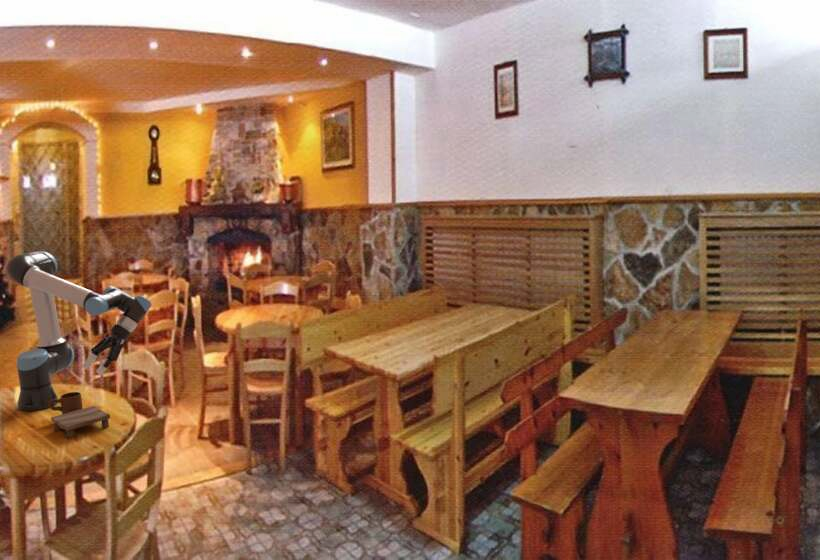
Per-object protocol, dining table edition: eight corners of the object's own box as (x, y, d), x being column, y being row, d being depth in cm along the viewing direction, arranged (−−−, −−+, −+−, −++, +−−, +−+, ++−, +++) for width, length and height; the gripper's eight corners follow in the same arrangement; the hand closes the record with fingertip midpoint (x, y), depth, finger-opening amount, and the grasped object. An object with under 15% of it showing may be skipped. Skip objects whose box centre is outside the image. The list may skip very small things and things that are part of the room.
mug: (51, 424, 257) (48, 401, 255) (49, 418, 263) (46, 396, 261) (84, 417, 264) (82, 395, 262) (81, 412, 270) (79, 390, 268)
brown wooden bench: (52, 429, 251) (51, 417, 251) (94, 417, 263) (93, 405, 262) (67, 439, 242) (66, 427, 241) (111, 426, 253) (109, 414, 252)
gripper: (144, 337, 271) (112, 380, 262) (117, 329, 287) (86, 369, 279) (130, 327, 266) (97, 371, 258) (104, 319, 283) (72, 360, 274)
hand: (91, 370), depth 268 cm, fingers open, 13 cm apart
